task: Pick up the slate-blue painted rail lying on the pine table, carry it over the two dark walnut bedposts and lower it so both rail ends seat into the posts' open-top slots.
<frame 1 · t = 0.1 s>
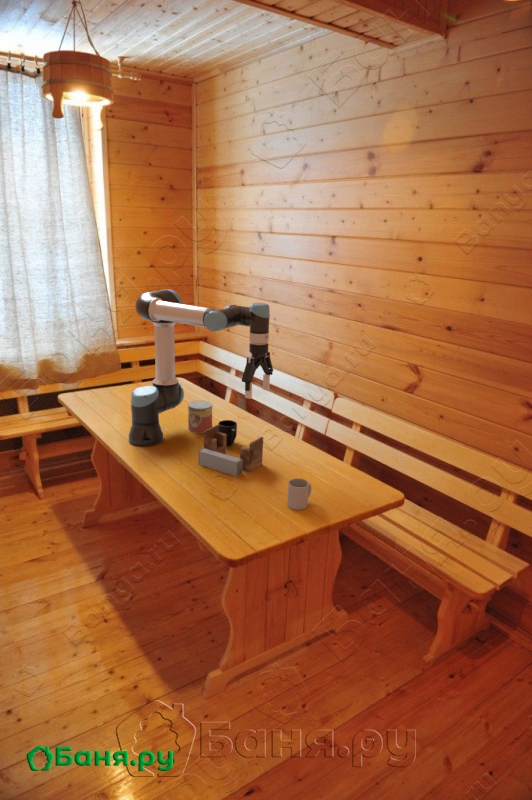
hand: (257, 393, 233), 28 cm above the table, fingers open, 13 cm apart
post head: (215, 455, 241), on the table
post foot: (251, 466, 232), on the table
cup: (299, 504, 204), on the table
mug: (228, 445, 252), on the table
rail: (220, 468, 229), on the table
canned food: (200, 428, 270), on the table
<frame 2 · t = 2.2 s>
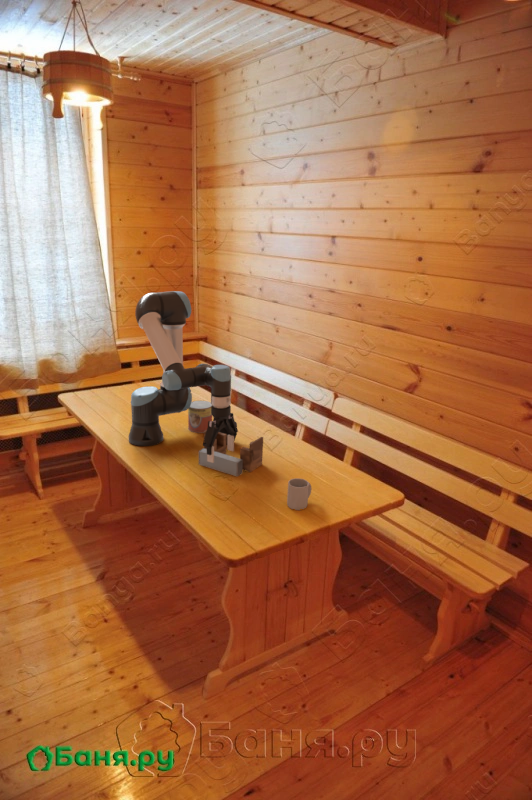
hand: (220, 456, 227), 6 cm above the table, fingers open, 13 cm apart
nothing on the table moved.
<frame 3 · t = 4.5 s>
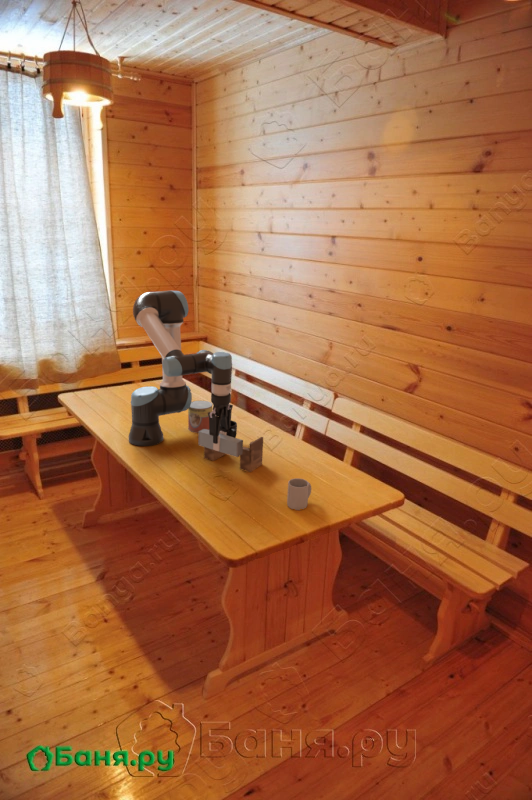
hand: (219, 448, 227), 9 cm above the table, fingers closed on rail, 3 cm apart
rail: (220, 449, 227), point 8 cm above the table, touching gripper
everything else where it was.
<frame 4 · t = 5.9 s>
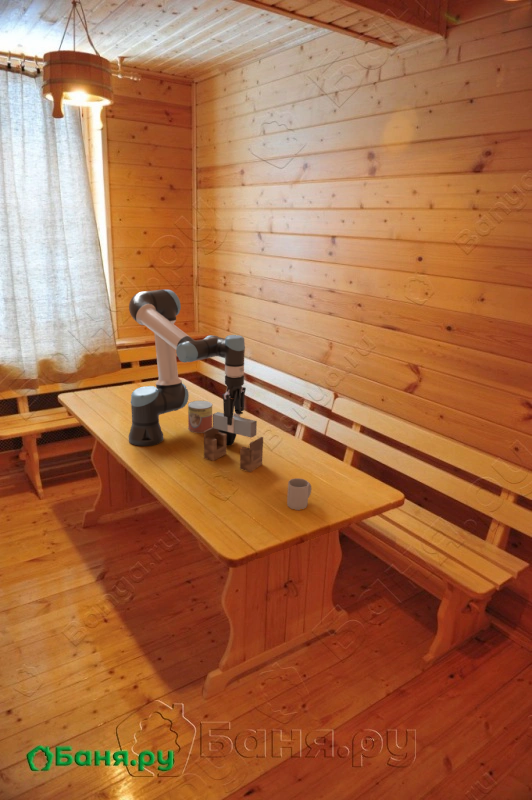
hand: (233, 430, 232), 14 cm above the table, fingers closed on rail, 3 cm apart
rail: (234, 431, 232), point 13 cm above the table, touching gripper
everything else where it was.
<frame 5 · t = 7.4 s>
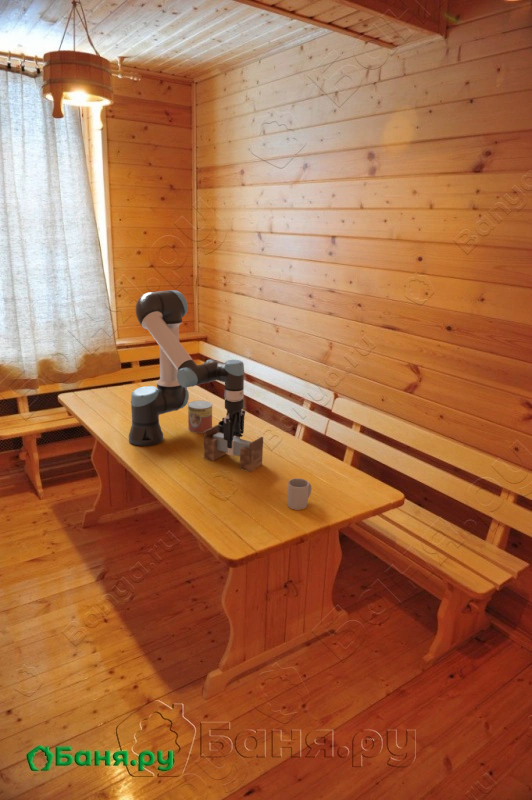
hand: (233, 452, 235), 4 cm above the table, fingers closed on rail, 3 cm apart
rail: (233, 452, 235), point 4 cm above the table, touching gripper, post foot, post head
everything else where it was.
when the fingers open (3 cm above the table, at t = 7.7 s): rail stays where it is, resting on post foot, post head.
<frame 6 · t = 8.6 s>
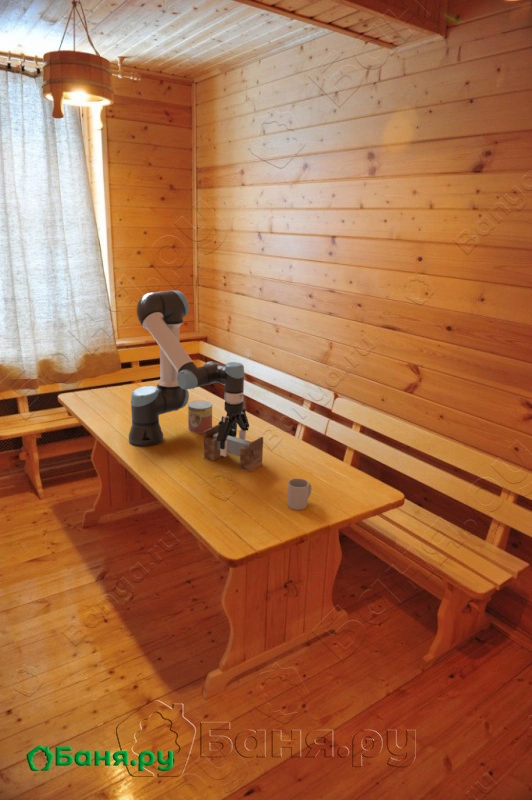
hand: (233, 450, 235), 5 cm above the table, fingers open, 13 cm apart
rail: (233, 452, 235), point 4 cm above the table, touching post foot, post head
everything else where it was.
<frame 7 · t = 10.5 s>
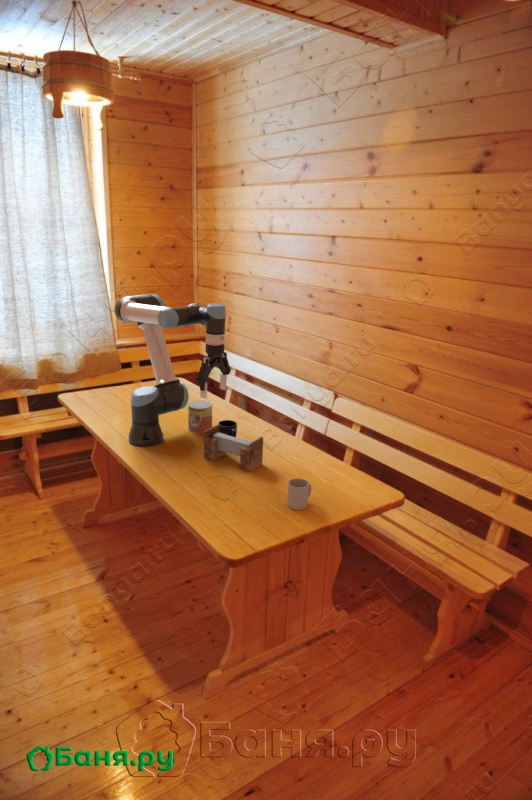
hand: (213, 393, 235), 27 cm above the table, fingers open, 13 cm apart
nothing on the table moved.
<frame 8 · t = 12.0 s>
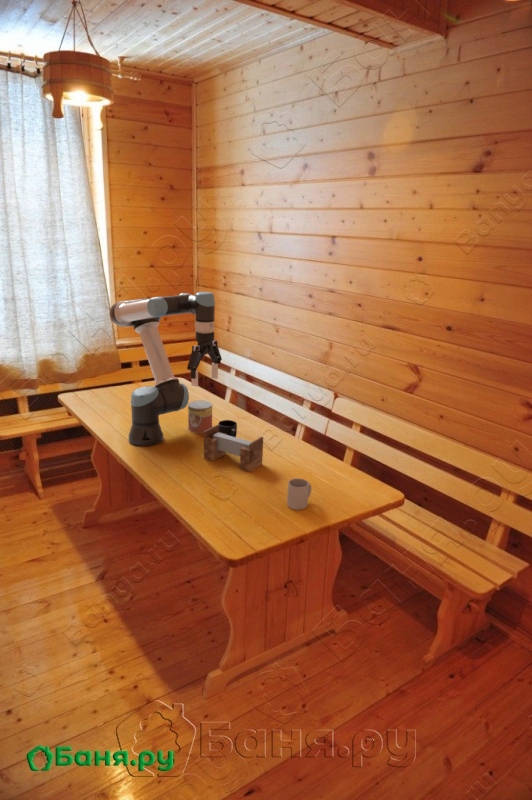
hand: (204, 382, 236), 31 cm above the table, fingers open, 13 cm apart
nothing on the table moved.
at the end: rail 0.4 cm from the target spot, point 4.0 cm above the table; rail tilted 0°; the gripper is holding nothing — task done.
